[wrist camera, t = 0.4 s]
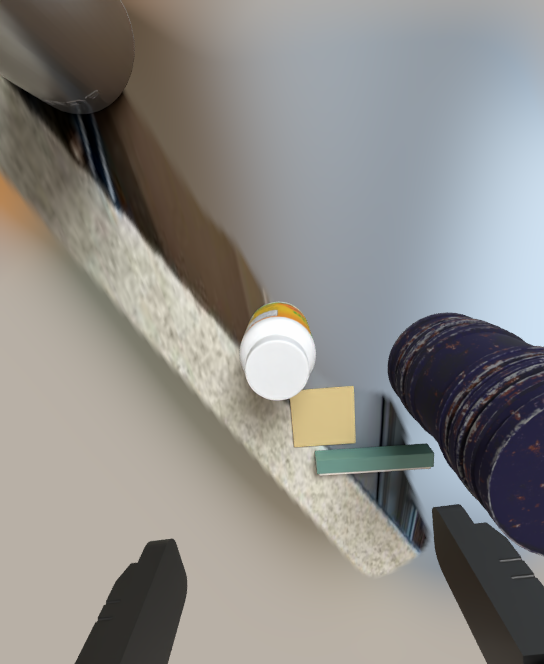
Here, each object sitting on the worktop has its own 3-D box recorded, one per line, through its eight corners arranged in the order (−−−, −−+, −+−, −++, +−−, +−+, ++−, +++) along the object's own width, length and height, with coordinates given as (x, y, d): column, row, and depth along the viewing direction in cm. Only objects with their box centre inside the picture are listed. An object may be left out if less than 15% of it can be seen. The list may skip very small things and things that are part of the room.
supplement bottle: (318, 342, 29) (336, 389, 20) (265, 367, 30) (259, 424, 21) (291, 290, 28) (297, 313, 19) (237, 317, 29) (217, 353, 19)
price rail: (314, 451, 32) (316, 460, 31) (427, 443, 32) (434, 453, 30) (315, 466, 33) (317, 476, 31) (426, 459, 32) (433, 469, 31)
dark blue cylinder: (368, 343, 29) (454, 440, 15) (473, 290, 28) (684, 342, 13) (411, 428, 31) (523, 587, 17) (511, 384, 30) (727, 516, 15)
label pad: (289, 390, 30) (289, 391, 30) (353, 385, 30) (353, 386, 30) (294, 445, 32) (294, 447, 32) (355, 441, 32) (355, 442, 32)
